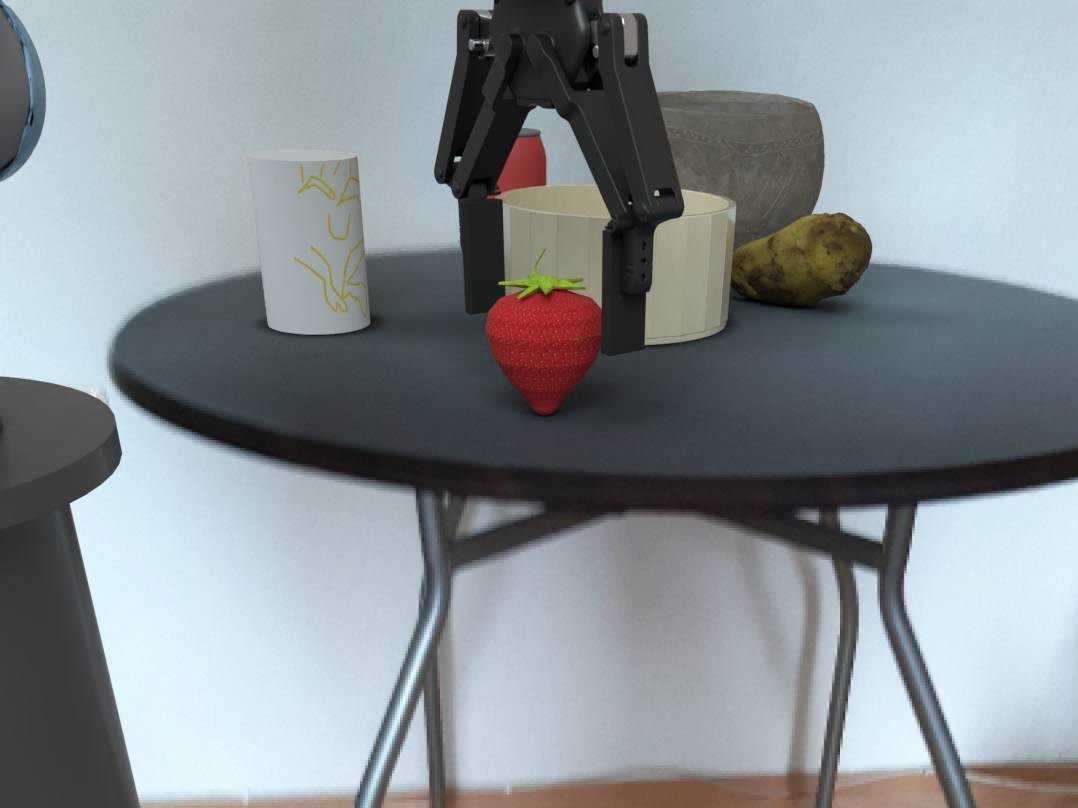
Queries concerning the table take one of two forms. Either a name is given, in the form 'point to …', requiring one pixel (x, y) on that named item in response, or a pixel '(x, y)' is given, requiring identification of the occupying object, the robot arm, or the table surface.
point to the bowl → (748, 154)
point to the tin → (678, 254)
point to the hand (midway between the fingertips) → (550, 331)
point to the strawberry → (544, 338)
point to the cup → (310, 240)
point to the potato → (803, 261)
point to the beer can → (524, 163)
